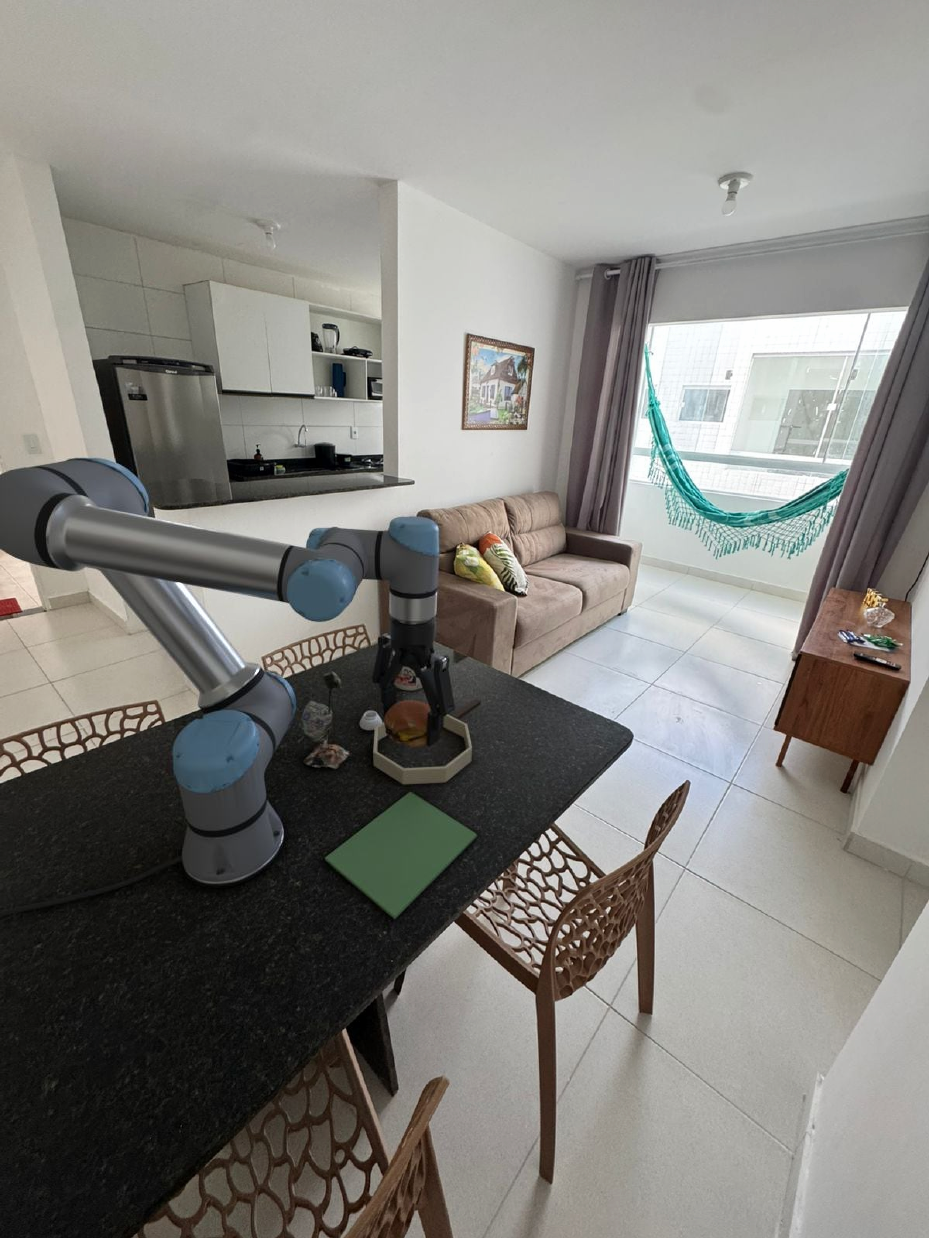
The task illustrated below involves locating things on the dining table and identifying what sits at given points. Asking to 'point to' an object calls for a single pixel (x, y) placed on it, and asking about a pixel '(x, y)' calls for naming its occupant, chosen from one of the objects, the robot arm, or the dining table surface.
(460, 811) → the dining table surface
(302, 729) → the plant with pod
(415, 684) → the teacup with lid
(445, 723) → the pan
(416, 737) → the burger
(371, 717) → the white upturned bowl
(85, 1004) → the dining table surface
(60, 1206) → the dining table surface
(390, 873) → the napkin mat
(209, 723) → the robot arm
